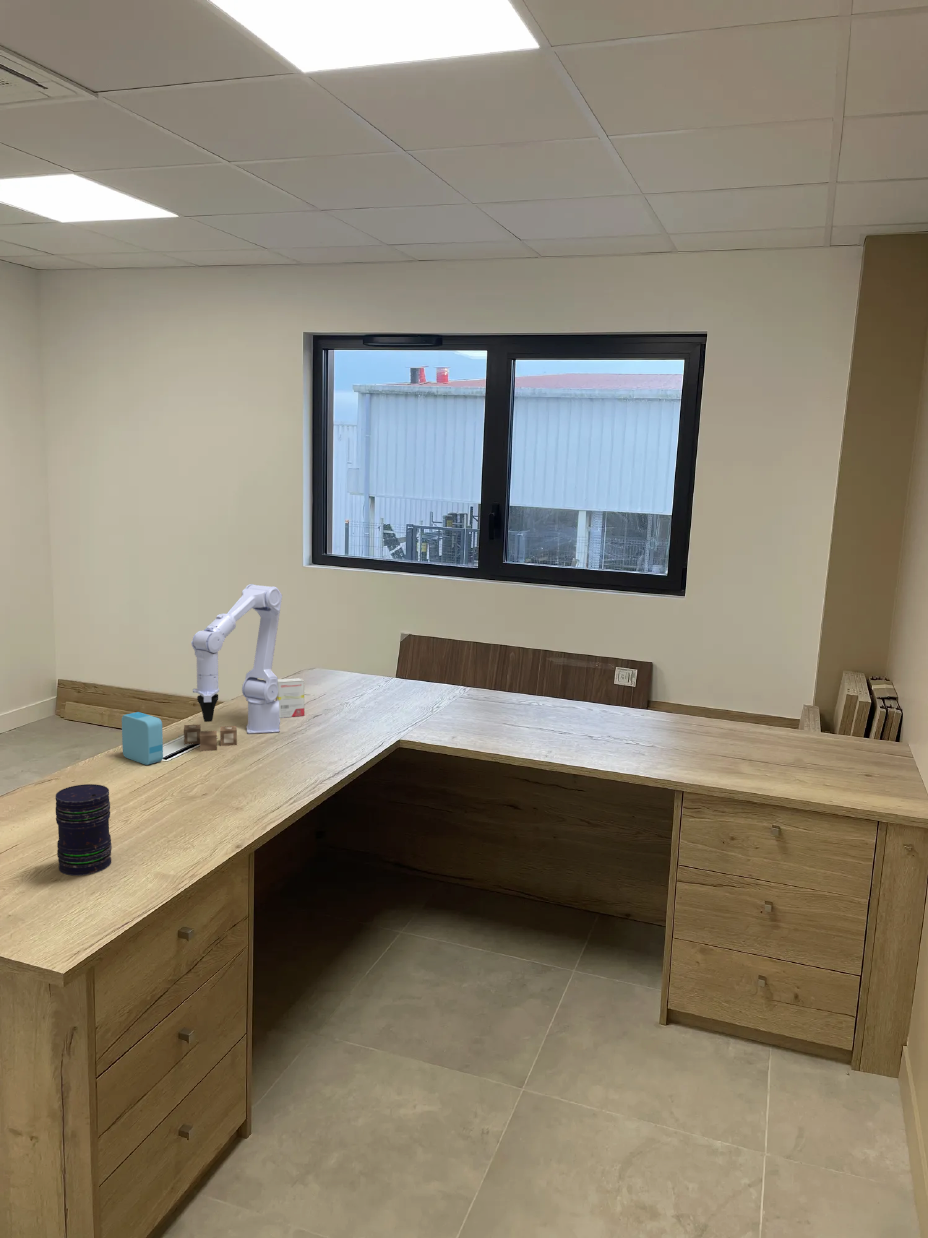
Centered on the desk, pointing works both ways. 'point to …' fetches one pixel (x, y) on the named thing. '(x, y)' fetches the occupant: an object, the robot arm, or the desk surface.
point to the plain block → (208, 740)
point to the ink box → (290, 697)
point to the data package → (142, 738)
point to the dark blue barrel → (83, 829)
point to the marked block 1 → (192, 734)
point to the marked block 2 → (228, 735)
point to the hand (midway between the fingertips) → (208, 721)
